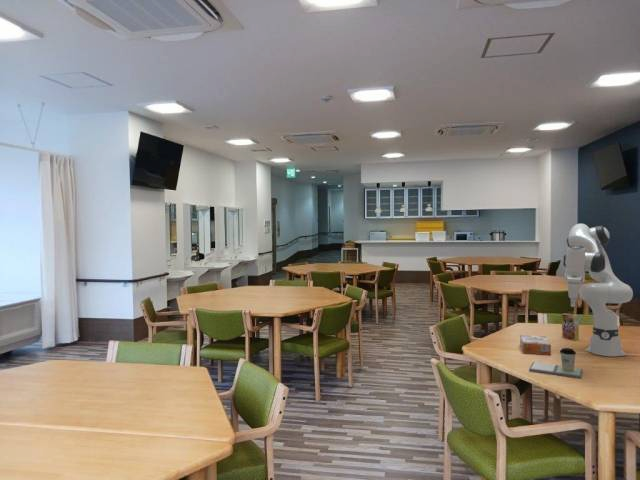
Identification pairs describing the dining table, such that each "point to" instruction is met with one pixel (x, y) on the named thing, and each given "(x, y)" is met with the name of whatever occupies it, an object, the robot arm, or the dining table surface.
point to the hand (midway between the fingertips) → (573, 305)
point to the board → (555, 370)
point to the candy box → (570, 326)
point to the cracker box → (535, 345)
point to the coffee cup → (568, 359)
